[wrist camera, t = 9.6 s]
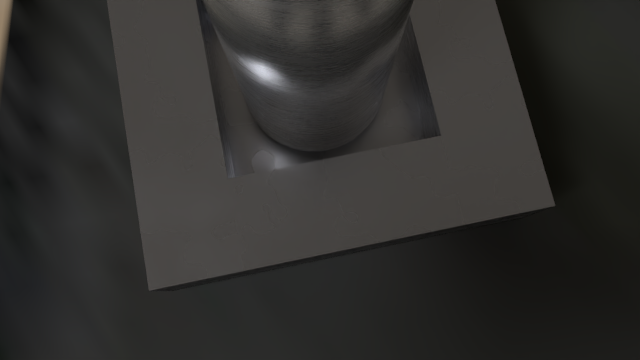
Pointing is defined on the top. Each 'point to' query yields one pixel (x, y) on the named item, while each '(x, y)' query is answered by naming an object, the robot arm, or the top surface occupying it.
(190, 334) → the top surface
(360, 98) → the shiny metal cylinder
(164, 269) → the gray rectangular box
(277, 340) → the top surface
